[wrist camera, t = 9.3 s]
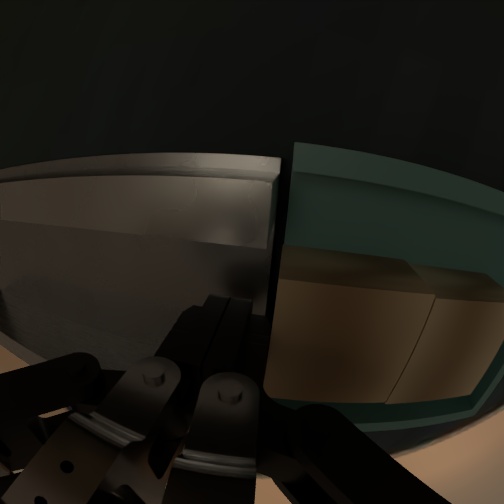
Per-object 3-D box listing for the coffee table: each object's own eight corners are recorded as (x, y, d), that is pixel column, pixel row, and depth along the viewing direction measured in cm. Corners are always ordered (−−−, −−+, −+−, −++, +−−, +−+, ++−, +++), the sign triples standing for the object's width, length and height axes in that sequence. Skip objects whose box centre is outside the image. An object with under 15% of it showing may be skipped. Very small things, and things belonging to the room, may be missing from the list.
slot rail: (281, 158, 10) (274, 159, 6) (257, 379, 14) (244, 449, 9) (-9, 171, 12) (-55, 184, 8) (15, 306, 16) (-19, 332, 12)
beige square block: (404, 259, 10) (435, 294, 7) (371, 356, 12) (385, 402, 9) (282, 244, 10) (278, 278, 8) (269, 347, 12) (261, 396, 9)
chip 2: (486, 273, 9) (520, 303, 7) (449, 357, 11) (470, 394, 8) (405, 262, 10) (435, 298, 7) (372, 358, 12) (384, 404, 9)
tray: (531, 207, 8) (564, 221, 5) (459, 386, 12) (473, 415, 10) (293, 146, 9) (294, 142, 7) (264, 386, 14) (257, 426, 11)
